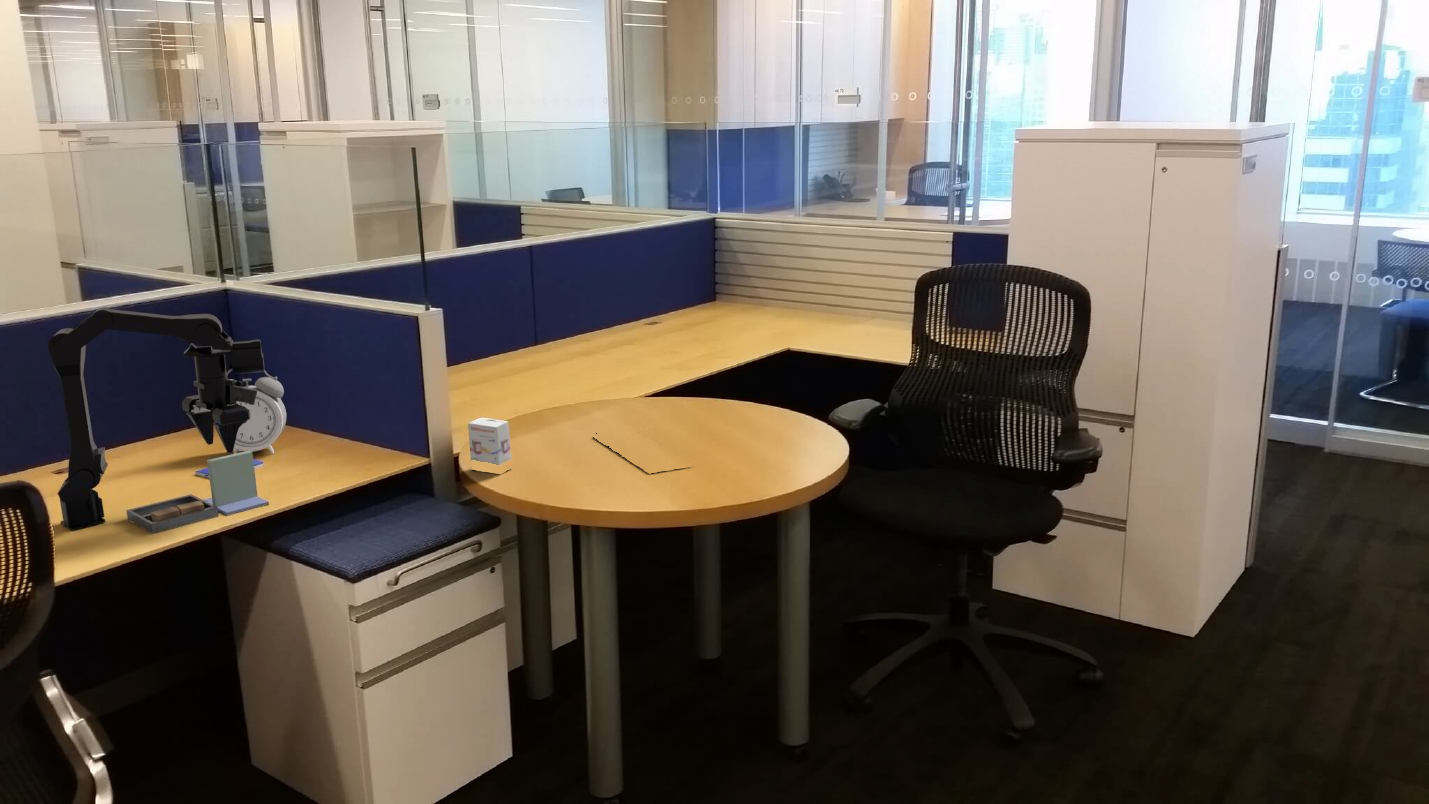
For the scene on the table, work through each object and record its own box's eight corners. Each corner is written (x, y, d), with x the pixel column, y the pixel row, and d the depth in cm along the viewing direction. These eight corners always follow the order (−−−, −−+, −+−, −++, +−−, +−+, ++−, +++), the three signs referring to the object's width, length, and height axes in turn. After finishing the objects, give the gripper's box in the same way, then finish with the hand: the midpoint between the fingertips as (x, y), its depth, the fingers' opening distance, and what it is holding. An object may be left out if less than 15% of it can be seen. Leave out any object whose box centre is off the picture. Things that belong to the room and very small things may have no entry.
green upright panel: (216, 506, 232) (210, 461, 229) (212, 505, 233) (207, 460, 230) (257, 496, 238) (252, 452, 236) (254, 494, 239) (248, 450, 237)
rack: (152, 533, 218) (151, 524, 218) (127, 519, 227) (126, 510, 226) (218, 516, 228) (217, 507, 227) (192, 503, 236) (191, 494, 236)
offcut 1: (159, 529, 221) (157, 515, 220) (152, 526, 223) (150, 512, 222) (181, 523, 224) (179, 509, 224) (174, 520, 226) (172, 506, 225)
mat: (227, 515, 228) (227, 512, 228) (201, 502, 236) (201, 500, 236) (268, 504, 235) (268, 501, 235) (242, 492, 243) (242, 489, 242)
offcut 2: (183, 523, 225) (181, 509, 224) (178, 519, 227) (176, 505, 226) (205, 517, 228) (203, 504, 227) (200, 514, 230) (198, 500, 229)
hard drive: (240, 456, 266) (194, 470, 255) (263, 461, 262) (217, 475, 251) (241, 462, 266) (195, 477, 256) (264, 467, 262) (218, 482, 252)
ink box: (469, 471, 256) (466, 421, 253) (482, 465, 260) (479, 416, 258) (499, 475, 252) (496, 425, 250) (512, 469, 257) (509, 420, 254)
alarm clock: (216, 460, 267) (205, 371, 261) (223, 450, 275) (212, 364, 269) (288, 454, 271) (278, 367, 265) (292, 444, 279) (283, 360, 273)
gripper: (270, 376, 227) (278, 448, 231) (229, 363, 239) (236, 432, 243) (217, 385, 219) (225, 460, 223) (177, 371, 231) (185, 443, 235)
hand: (220, 448), depth 231 cm, fingers open, 9 cm apart
